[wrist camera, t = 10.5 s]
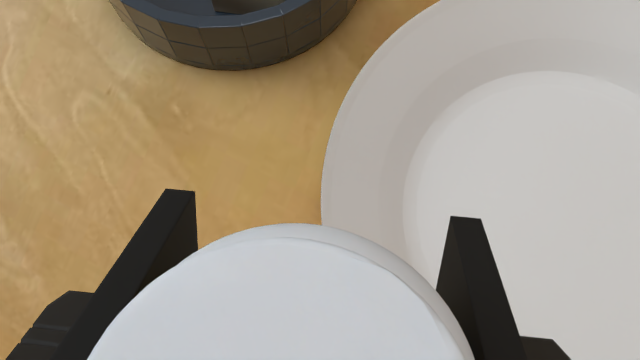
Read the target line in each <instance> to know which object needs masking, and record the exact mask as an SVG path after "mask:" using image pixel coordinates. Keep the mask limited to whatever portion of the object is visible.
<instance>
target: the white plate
mask: <svg viewBox="0 0 640 360" xmlns="http://www.w3.org/2000/svg"><path fill="white" fill-rule="evenodd" d="M450 216H459V217H470V218H481V220H482V223H483V226H484V229H485V232H486V235H487V238H488V241H489V244H490V247H491V250H492V253H493V256H494V259H495V262H496V265H497V268H498V271H499V274H500V277H501V280H502V283H503V286H504V289H505V292H506V296H507V299H508V302H509V305H510V308H511V311H512V314H513V317H514V320H515V323H516V326H517V329H518V332H519V335H520V336H527V337H537V338H546V339H553V340H554V341H555V342H556V343H557V344H558V345H559V347H560V348H561V349H562V350H563V351H564V352H565V353H566V354H567V355H568V356H569V357H570V359H571V360H640V0H441V1H439V2H437V3H435V4H433V5H432V6H430V7H428V8H427V9H425V10H423V11H422V12H420V13H419V14H417V15H416V16H414V17H413V18H412V19H410V20H409V21H408V22H406V23H405V24H404V25H403V26H401V27H400V28H399V29H398V30H397V31H396V32H394V33H393V34H392V35H391V36H390V37H389V38H388V39H387V40H386V41H385V42H384V43H383V44H382V45H381V46H380V47H379V48H378V49H377V51H376V52H375V53H374V54H373V55H372V56H371V58H370V59H369V60H368V61H367V63H366V64H365V65H364V67H363V68H362V70H361V71H360V73H359V74H358V76H357V77H356V79H355V80H354V82H353V84H352V85H351V87H350V89H349V90H348V92H347V94H346V96H345V98H344V100H343V102H342V105H341V107H340V109H339V111H338V114H337V116H336V119H335V122H334V125H333V128H332V131H331V134H330V138H329V141H328V145H327V150H326V154H325V160H324V166H323V174H322V184H321V219H322V226H329V227H333V228H337V229H341V230H345V231H348V232H351V233H354V234H356V235H359V236H362V237H364V238H366V239H368V240H371V241H373V242H375V243H377V244H379V245H381V246H383V247H384V248H386V249H387V250H389V251H391V252H392V253H394V254H395V255H397V256H398V257H400V258H401V259H402V260H404V261H405V262H406V263H408V264H409V265H410V266H411V267H413V268H414V269H415V270H416V271H417V272H418V273H419V274H421V275H422V276H423V277H424V278H425V279H426V280H427V281H428V282H429V284H430V285H431V286H432V287H433V288H434V289H435V290H436V286H437V281H438V276H439V271H440V266H441V261H442V256H443V251H444V246H445V241H446V236H447V231H448V226H449V221H450Z"/></svg>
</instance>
